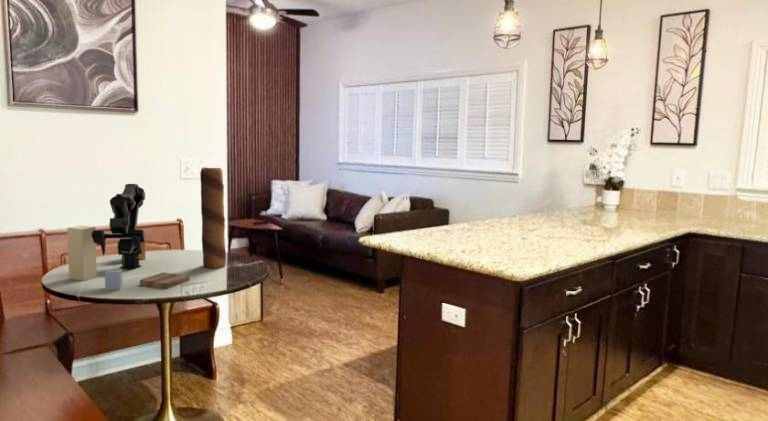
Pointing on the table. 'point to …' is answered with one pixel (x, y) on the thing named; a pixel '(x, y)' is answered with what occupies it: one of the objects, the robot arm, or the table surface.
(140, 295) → the table surface
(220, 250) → the wafer roll
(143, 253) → the small box
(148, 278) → the walnut block
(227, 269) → the table surface
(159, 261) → the table surface
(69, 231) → the tall beige block
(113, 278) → the blue-grey block
